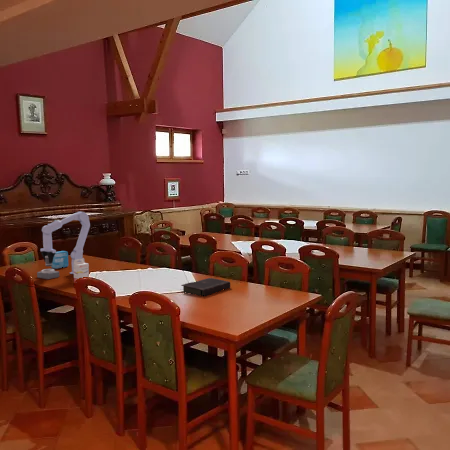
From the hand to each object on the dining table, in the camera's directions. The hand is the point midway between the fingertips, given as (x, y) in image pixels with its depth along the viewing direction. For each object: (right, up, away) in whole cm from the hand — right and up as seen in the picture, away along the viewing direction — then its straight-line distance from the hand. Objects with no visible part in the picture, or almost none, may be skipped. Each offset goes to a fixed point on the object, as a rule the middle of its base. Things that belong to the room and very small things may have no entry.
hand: (48, 262), depth 325 cm
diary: (+110, -14, -44) cm, 120 cm away
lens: (0, -2, 0) cm, 2 cm away
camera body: (0, -10, -1) cm, 10 cm away
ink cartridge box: (+28, -12, -15) cm, 34 cm away
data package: (-4, -7, +34) cm, 35 cm away
